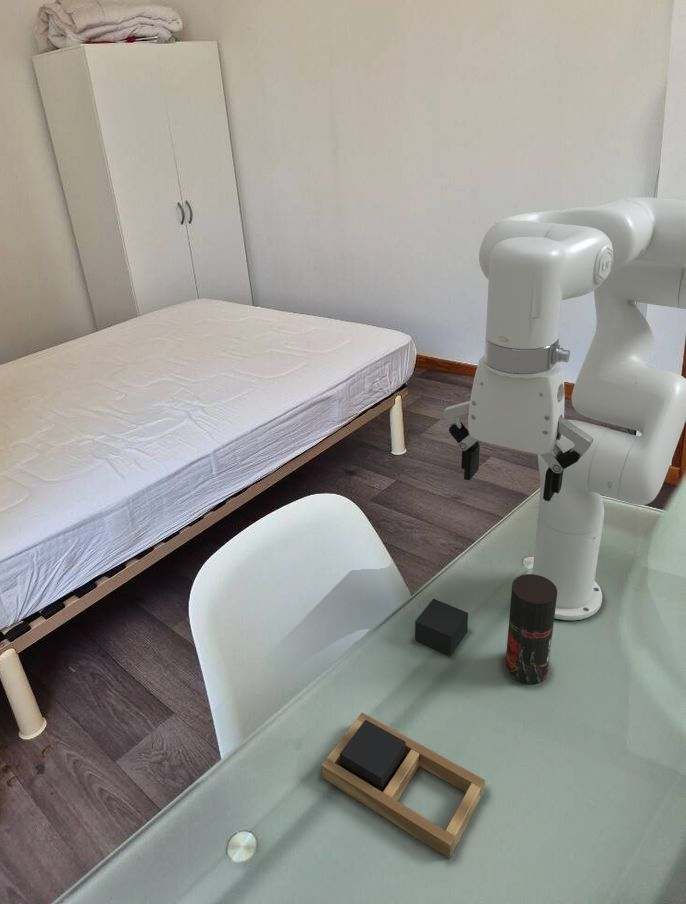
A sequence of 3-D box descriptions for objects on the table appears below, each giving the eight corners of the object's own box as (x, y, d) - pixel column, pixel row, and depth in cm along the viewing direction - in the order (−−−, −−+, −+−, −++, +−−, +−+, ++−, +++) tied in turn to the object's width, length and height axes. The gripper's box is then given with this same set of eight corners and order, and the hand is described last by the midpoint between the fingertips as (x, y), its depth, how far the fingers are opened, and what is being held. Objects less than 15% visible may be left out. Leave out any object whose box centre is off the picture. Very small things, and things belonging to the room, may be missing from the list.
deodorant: (549, 686, 97) (559, 605, 91) (506, 682, 98) (513, 601, 92) (545, 655, 102) (554, 575, 96) (504, 650, 104) (510, 572, 97)
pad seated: (366, 740, 91) (365, 719, 90) (405, 762, 88) (405, 741, 86) (341, 774, 87) (339, 753, 85) (381, 799, 84) (381, 778, 82)
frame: (362, 724, 94) (361, 712, 92) (484, 793, 84) (485, 779, 83) (322, 778, 87) (321, 764, 86) (449, 859, 77) (450, 845, 76)
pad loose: (432, 617, 111) (433, 598, 109) (467, 632, 107) (468, 612, 106) (414, 640, 107) (414, 621, 105) (450, 656, 103) (450, 637, 101)
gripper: (610, 353, 74) (591, 488, 81) (458, 331, 83) (454, 454, 90) (593, 379, 68) (575, 521, 76) (432, 352, 77) (430, 481, 85)
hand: (509, 484), depth 83 cm, fingers open, 9 cm apart
